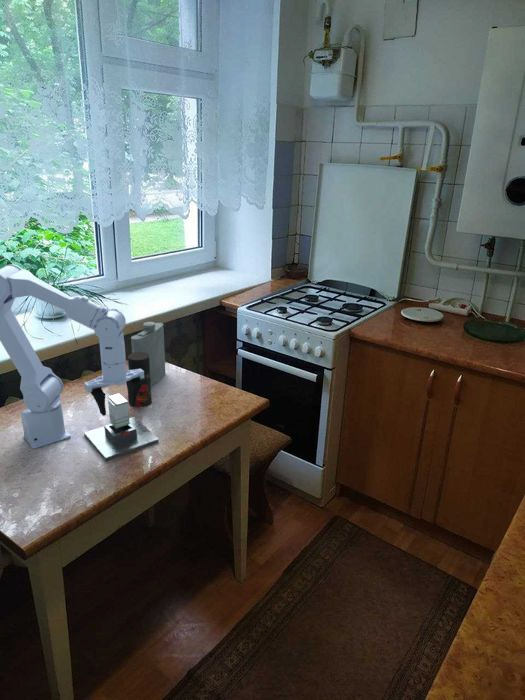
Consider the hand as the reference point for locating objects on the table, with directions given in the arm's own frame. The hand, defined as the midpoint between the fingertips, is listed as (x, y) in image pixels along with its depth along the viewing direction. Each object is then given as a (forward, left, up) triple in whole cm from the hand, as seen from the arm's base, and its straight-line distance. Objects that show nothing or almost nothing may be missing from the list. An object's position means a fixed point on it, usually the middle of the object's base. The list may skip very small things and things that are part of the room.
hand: (117, 409), depth 125 cm
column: (0, -1, -5) cm, 5 cm away
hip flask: (+22, +25, -9) cm, 35 cm away
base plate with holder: (0, -1, -8) cm, 8 cm away
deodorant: (+13, +14, -9) cm, 21 cm away
